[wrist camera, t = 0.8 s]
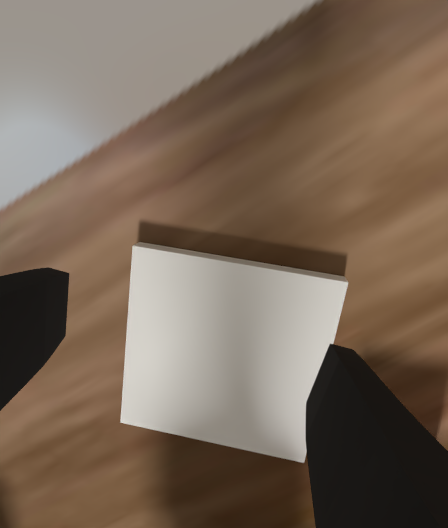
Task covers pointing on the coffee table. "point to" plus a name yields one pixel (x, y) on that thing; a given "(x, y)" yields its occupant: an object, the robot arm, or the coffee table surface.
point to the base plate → (226, 347)
